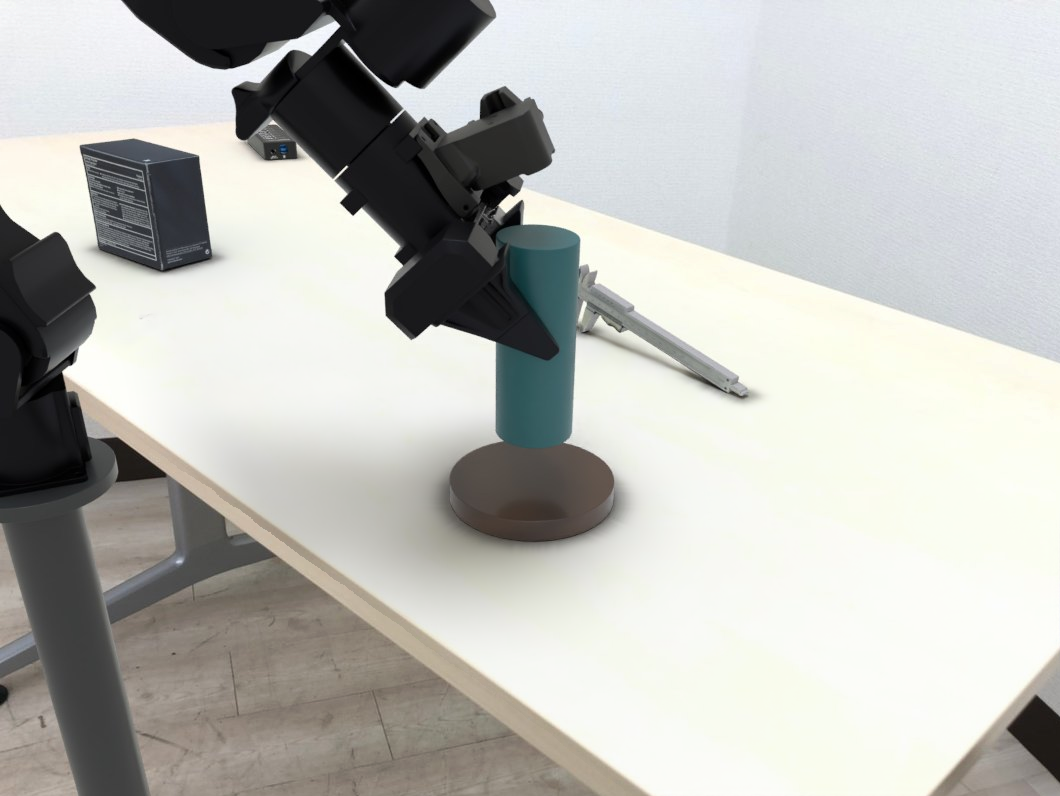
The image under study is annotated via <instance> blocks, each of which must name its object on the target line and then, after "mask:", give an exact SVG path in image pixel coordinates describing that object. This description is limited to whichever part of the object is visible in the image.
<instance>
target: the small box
mask: <svg viewBox="0 0 1060 796" xmlns="http://www.w3.org/2000/svg"><path fill="white" fill-rule="evenodd" d="M79 153H80V156H81V159H82V163H83V164H82V165H83V167H84V168H83V169H84V173H85V178H86V184H87V190H88V194H89V201H90V206H91V212H92V218H93V223H94V228H95V234H96V235H95V236H96V240H97V248H98V249H99V250H102V251H104V252H107V253H110V254H114V255H116V256H119V257H122V258H125V259H128V260H130V261H133V262H137V263H138V264H143V265H145V266H148V267H151V268H153V269H157V270H160V271H164V270H167V269H171V268H175V267H179V266H182V265H186V264H190V263H195V262H198V261H202V260H206V259H210V258H212V257H213V251H212V244H211V236H210V229H209V228H210V227H209V221H208V213H207V207H206V200H205V192H204V183H203V177H202V169H201V161H200V160H201V158H200V155H199V154H196V153H191V152H187V151H183V150H180V149H176V148H173V147H168V146H164V145H160V144H157V143H153V142H149V141H145V140H142V139H139V138H138V139H137V138H134V137H133V138H126V139H119V140H110V141H100V142H92V143H83V144H80V145H79Z"/></svg>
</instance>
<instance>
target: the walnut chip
mask: <svg viewBox="0 0 1060 796" xmlns="http://www.w3.org/2000/svg"><path fill="white" fill-rule="evenodd" d="M448 479H449V480H448V481H449V502H450V503H449V504H450V505H451V508H452V510H453V511H454V513H455V515H457V517H458V518H459V519H460V520H461V521H463V522H464V523H465V524H466V525H468V526H470V527H472V529H475V530H477V531H479V532H481V533H483V534H487V535H490V536H493V537H497V538H501V539H505V540H506V539H507V540H512V541H522V542H545V541H546V542H547V541H553V540H554V541H555V540H560V539H561V540H562V539H565V538H570V537H574V536H576V535H579V534H583V533H585V532H587V531H589V530H591V529H592V528H595V527H596V526H597V525H599V524H600V523H601V522H603V521H604V520H606V518H607V516H608V515H609V514H610V513H611V510H612V508H613V505H614V499H615V497H614V495H615V475H614V473H613V470H612V469H611V467H610V466H609V465H608V464H607V463H606V461H604V460H603V459H602V458H601V457H600V456H598V455H596V454H595V453H593V452H592V451H589V450H587V449H585V448H583V447H580V446H577V445H574V444H571V443H566V442H564V443H562V444H559V445H557V446H553V447H548V448H523V447H518V446H514V445H511V444H509V443H506V442H505V441H503V440H501V441H499V442H498V441H497V442H493V443H489V444H486V445H483V446H480V447H478V448H476V449H473V450H472V451H470V452H468V453H466V454H465V455H463V456H462V457H461V458H459V460H457V462H455V464H454V465H453V467H452V469H451V471H450V473H449V478H448Z"/></svg>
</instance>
